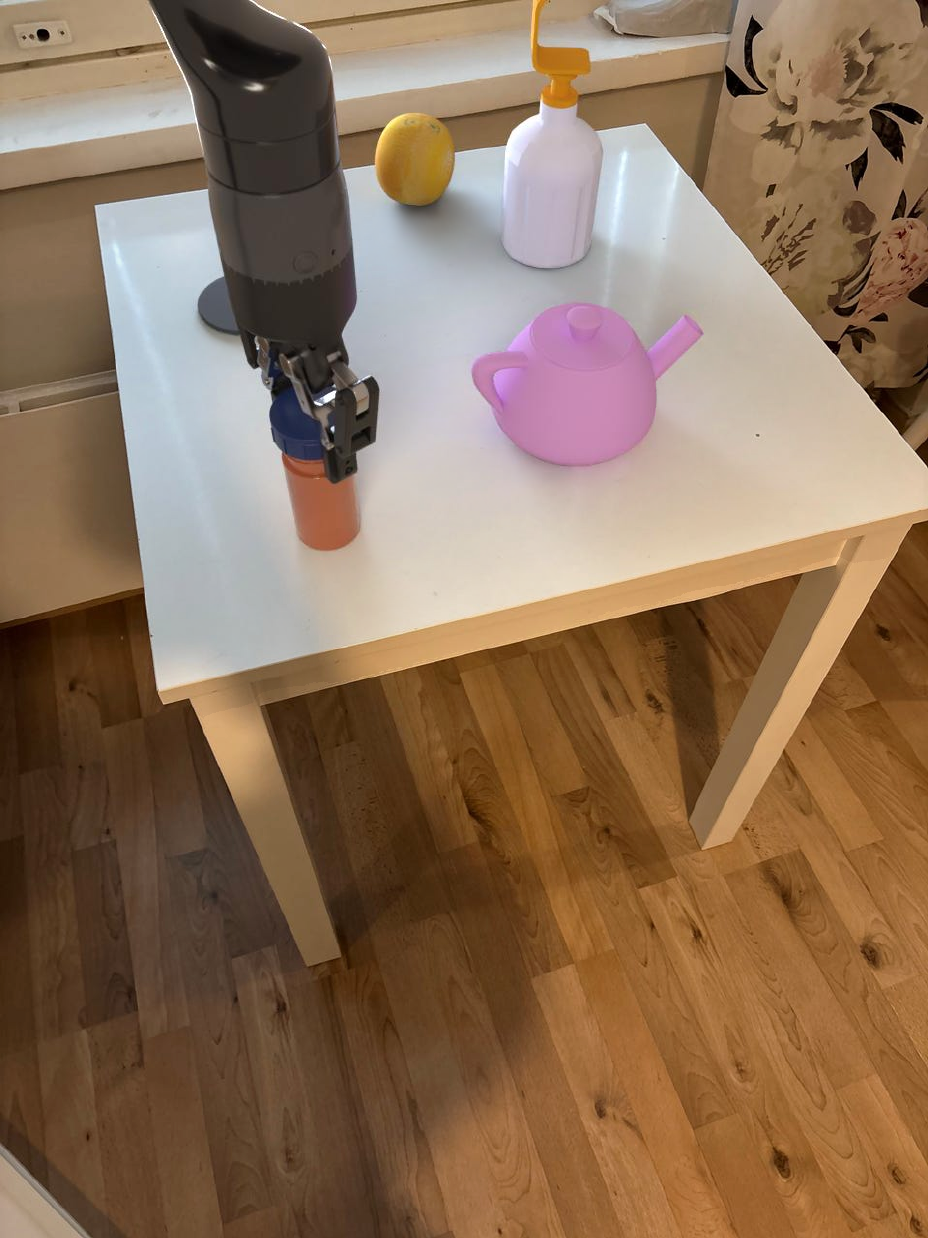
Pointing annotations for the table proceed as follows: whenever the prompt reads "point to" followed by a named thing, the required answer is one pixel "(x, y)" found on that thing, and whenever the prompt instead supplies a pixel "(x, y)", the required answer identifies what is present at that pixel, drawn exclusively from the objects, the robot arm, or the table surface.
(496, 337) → the table surface
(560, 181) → the soap bottle
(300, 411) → the lid
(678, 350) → the teapot
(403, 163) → the fruit
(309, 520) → the jar
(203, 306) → the coaster
